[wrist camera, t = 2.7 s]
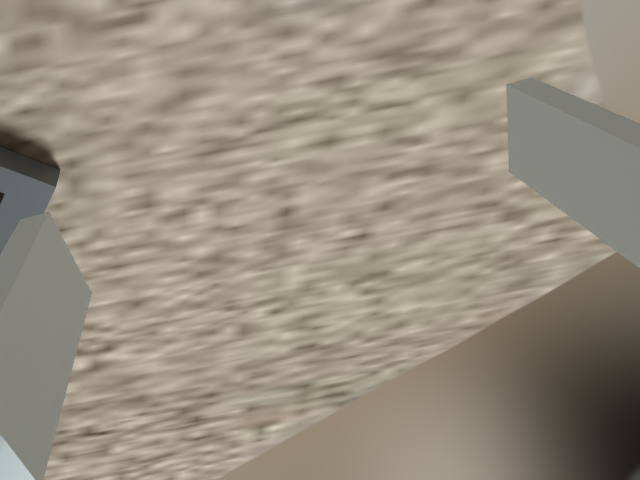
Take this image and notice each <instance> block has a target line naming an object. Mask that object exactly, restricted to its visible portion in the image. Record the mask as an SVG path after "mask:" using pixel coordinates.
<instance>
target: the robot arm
mask: <svg viewBox="0 0 640 480" xmlns="http://www.w3.org/2000/svg"><path fill="white" fill-rule="evenodd" d="M507 118H508V151H509V172H511V173H512V174H513V175H515V176H516V177H518V178H519V179H520V180H522V181H523V182H524V183H526V184H527V185H528V186H530V187H531V188H532V189H534V190H535V191H536V192H538V193H539V194H540V195H542V196H543V197H544V198H546V199H547V200H548V201H550V202H551V203H553V204H554V205H555V206H557V207H558V208H559V209H561V210H562V211H563V212H565V213H566V214H567V215H569V216H570V217H571V218H573V219H574V220H575V221H577V222H578V223H579V224H581V225H582V226H583V227H585V228H586V229H587V230H589V231H590V232H592V233H593V234H594V235H596V236H597V237H598V238H600V239H601V240H602V241H604V242H605V243H606V244H608V245H609V246H610V247H612V248H613V249H614V250H616V251H617V252H618V253H620V254H621V255H622V256H624V257H625V258H627V259H628V260H629V261H631V262H632V263H633V264H635V265H636V266H637V267H639V268H640V123H637V122H635V121H633V120H630V119H628V118H626V117H623V116H621V115H618V114H616V113H613V112H611V111H609V110H607V109H604V108H602V107H600V106H597V105H595V104H593V103H590V102H588V101H585V100H583V99H581V98H578V97H576V96H574V95H571V94H569V93H567V92H564V91H562V90H560V89H557V88H555V87H552V86H550V85H548V84H545V83H543V82H541V81H538V80H536V79H534V78H528V79H525V80H521V81H517V82H514V83H510V84H507ZM91 294H92V292H91V290H90V288H89V286H88V285H87V283H86V281H85V279H84V277H83V275H82V273H81V271H80V269H79V268H78V266H77V264H76V262H75V260H74V258H73V256H72V254H71V252H70V251H69V249H68V247H67V245H66V243H65V241H64V239H63V237H62V236H61V234H60V232H59V230H58V228H57V226H56V224H55V222H54V220H53V219H52V217H51V215H50V213H49V212H46V213H43V214H39V215H35V216H32V217H28V218H25V219H21V220H20V221H19V223H18V225H17V226H16V228H15V230H14V231H13V233H12V235H11V237H10V238H9V240H8V242H7V244H6V245H5V247H4V249H3V251H2V252H1V254H0V480H43V478H44V474H45V471H46V467H47V463H48V459H49V455H50V451H51V448H52V444H53V440H54V436H55V432H56V428H57V424H58V421H59V417H60V413H61V409H62V405H63V401H64V398H65V394H66V390H67V386H68V382H69V378H70V374H71V371H72V367H73V363H74V359H75V355H76V351H77V348H78V344H79V340H80V336H81V332H82V328H83V324H84V321H85V317H86V313H87V309H88V305H89V301H90V298H91Z"/></svg>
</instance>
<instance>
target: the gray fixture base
mask: <svg viewBox="0 0 640 480" xmlns="http://www.w3.org/2000/svg"><path fill="white" fill-rule="evenodd" d="M59 173H60V169H57V168H54V167H52V166H49V165H47V164H44V163H42V162H39V161H37V160H34V159H31V158H29V157H26V156H24V155H21V154H19V153H16V152H13V151H11V150H8V149H6V148H3V147H1V146H0V192H2V193H4V196H3V198H2V201H1V203H0V254H1V252H2V251H3V249H4V247H5V245H6V244H7V242H8V240H9V238H10V237H11V235H12V233H13V231H14V230H15V228H16V226H17V225H18V223H19V221H20V220H21V219H25V218H28V217H32V216H35V215H39V214H43V213H44V211H45V209H46V207H47V205H48V203H49V201H50V199H51V196H52V194H53V192H54V190H55V188H56V185H57V181H58V177H59Z"/></svg>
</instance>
